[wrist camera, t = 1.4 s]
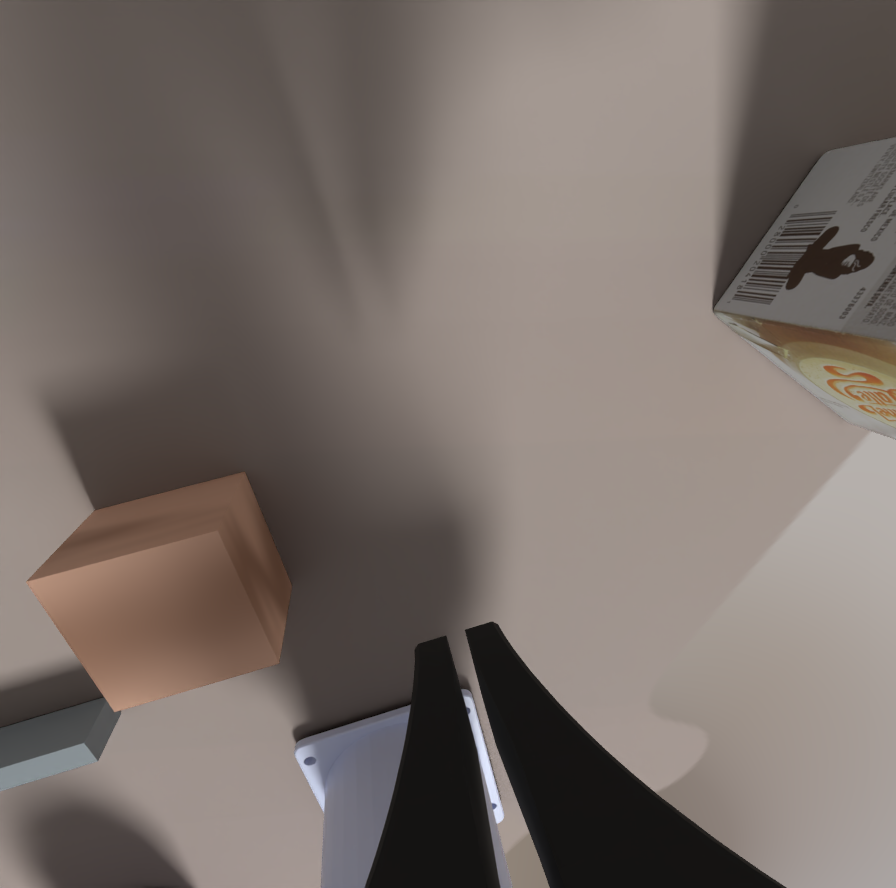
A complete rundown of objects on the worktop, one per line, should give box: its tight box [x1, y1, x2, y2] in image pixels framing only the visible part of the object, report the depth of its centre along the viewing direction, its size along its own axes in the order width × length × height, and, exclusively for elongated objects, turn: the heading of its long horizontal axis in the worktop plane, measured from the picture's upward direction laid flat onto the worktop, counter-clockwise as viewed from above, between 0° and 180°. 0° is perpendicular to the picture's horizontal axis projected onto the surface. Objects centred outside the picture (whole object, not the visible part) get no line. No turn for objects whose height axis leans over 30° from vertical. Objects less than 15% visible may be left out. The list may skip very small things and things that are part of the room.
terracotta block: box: [26, 472, 292, 712], centre depth 16 cm, size 5×5×4 cm
